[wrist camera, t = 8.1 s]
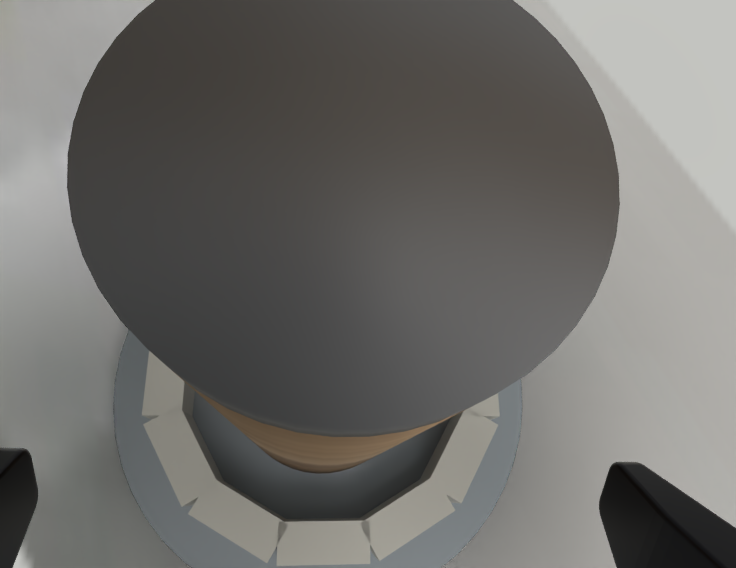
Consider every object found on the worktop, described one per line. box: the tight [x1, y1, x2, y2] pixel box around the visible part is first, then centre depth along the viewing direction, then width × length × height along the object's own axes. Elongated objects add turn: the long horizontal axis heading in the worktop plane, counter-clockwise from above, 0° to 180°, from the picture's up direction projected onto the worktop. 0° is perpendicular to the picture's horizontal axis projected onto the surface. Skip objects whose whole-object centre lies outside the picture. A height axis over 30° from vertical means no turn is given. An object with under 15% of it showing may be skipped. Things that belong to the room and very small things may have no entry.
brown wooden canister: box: [67, 0, 620, 474], centre depth 11 cm, size 6×5×13 cm
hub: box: [113, 330, 522, 568], centre depth 17 cm, size 12×12×2 cm
